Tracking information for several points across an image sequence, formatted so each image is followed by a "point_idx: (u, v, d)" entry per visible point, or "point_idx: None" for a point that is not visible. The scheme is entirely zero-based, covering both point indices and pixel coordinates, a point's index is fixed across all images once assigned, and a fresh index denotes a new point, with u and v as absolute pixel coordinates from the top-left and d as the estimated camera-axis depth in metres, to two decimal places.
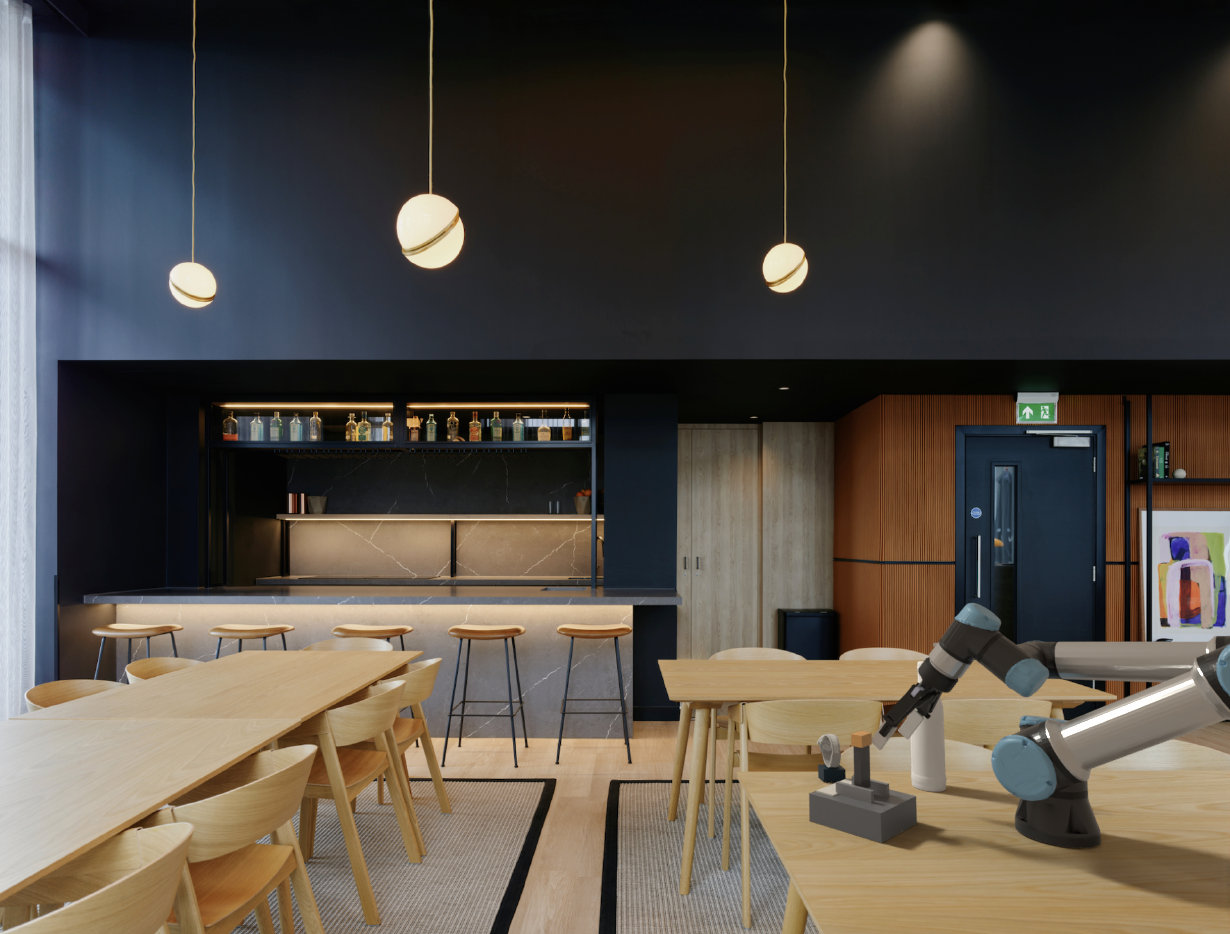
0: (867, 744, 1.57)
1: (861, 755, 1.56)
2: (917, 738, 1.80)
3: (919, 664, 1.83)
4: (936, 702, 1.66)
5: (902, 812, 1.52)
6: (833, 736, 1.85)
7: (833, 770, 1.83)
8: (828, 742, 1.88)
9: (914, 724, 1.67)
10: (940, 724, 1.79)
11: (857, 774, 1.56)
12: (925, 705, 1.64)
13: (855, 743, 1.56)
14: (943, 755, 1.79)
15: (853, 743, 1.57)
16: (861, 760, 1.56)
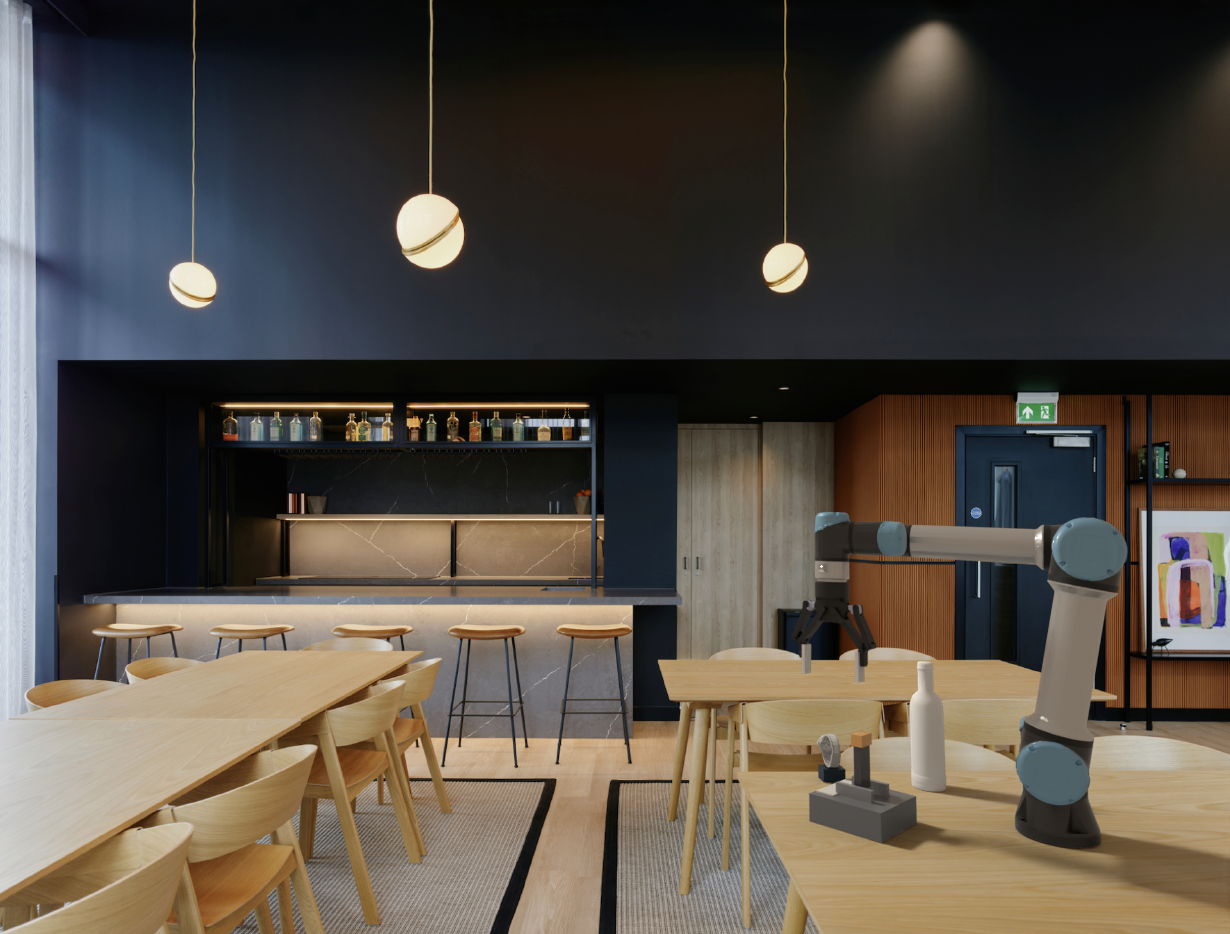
0: (867, 744, 1.57)
1: (861, 755, 1.56)
2: (917, 738, 1.80)
3: (919, 664, 1.83)
4: None
5: (902, 812, 1.52)
6: (833, 736, 1.85)
7: (833, 770, 1.83)
8: (828, 742, 1.88)
9: (809, 655, 1.70)
10: (940, 724, 1.79)
11: (857, 774, 1.56)
12: (816, 629, 1.69)
13: (855, 743, 1.56)
14: (943, 755, 1.79)
15: (853, 743, 1.57)
16: (861, 760, 1.56)
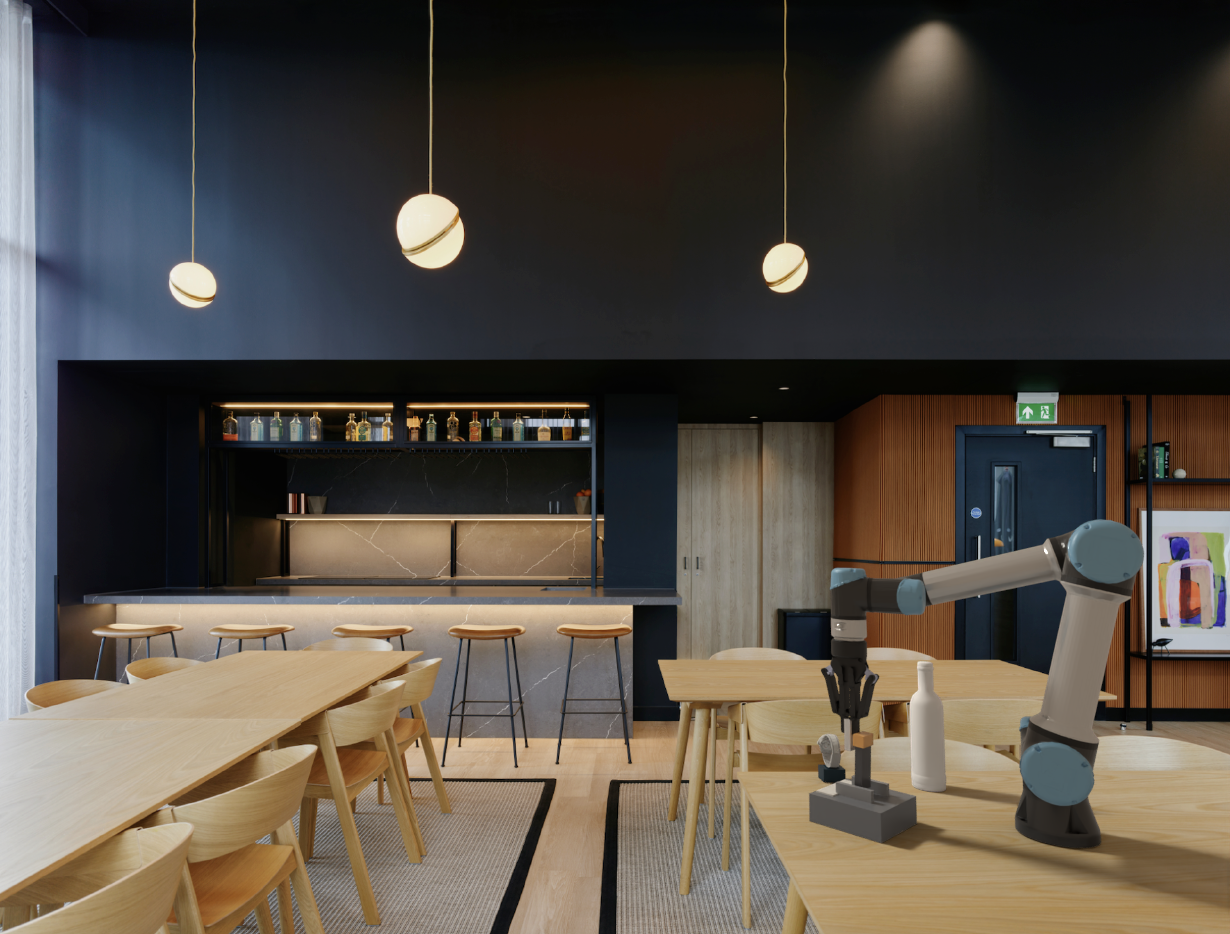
0: (869, 745, 1.57)
1: (863, 756, 1.56)
2: (917, 738, 1.80)
3: (919, 664, 1.83)
4: None
5: (902, 812, 1.52)
6: (833, 736, 1.85)
7: (833, 770, 1.83)
8: (828, 742, 1.88)
9: None
10: (940, 724, 1.79)
11: (857, 774, 1.56)
12: (848, 694, 1.62)
13: (857, 743, 1.56)
14: (943, 755, 1.79)
15: (855, 743, 1.56)
16: (862, 760, 1.55)
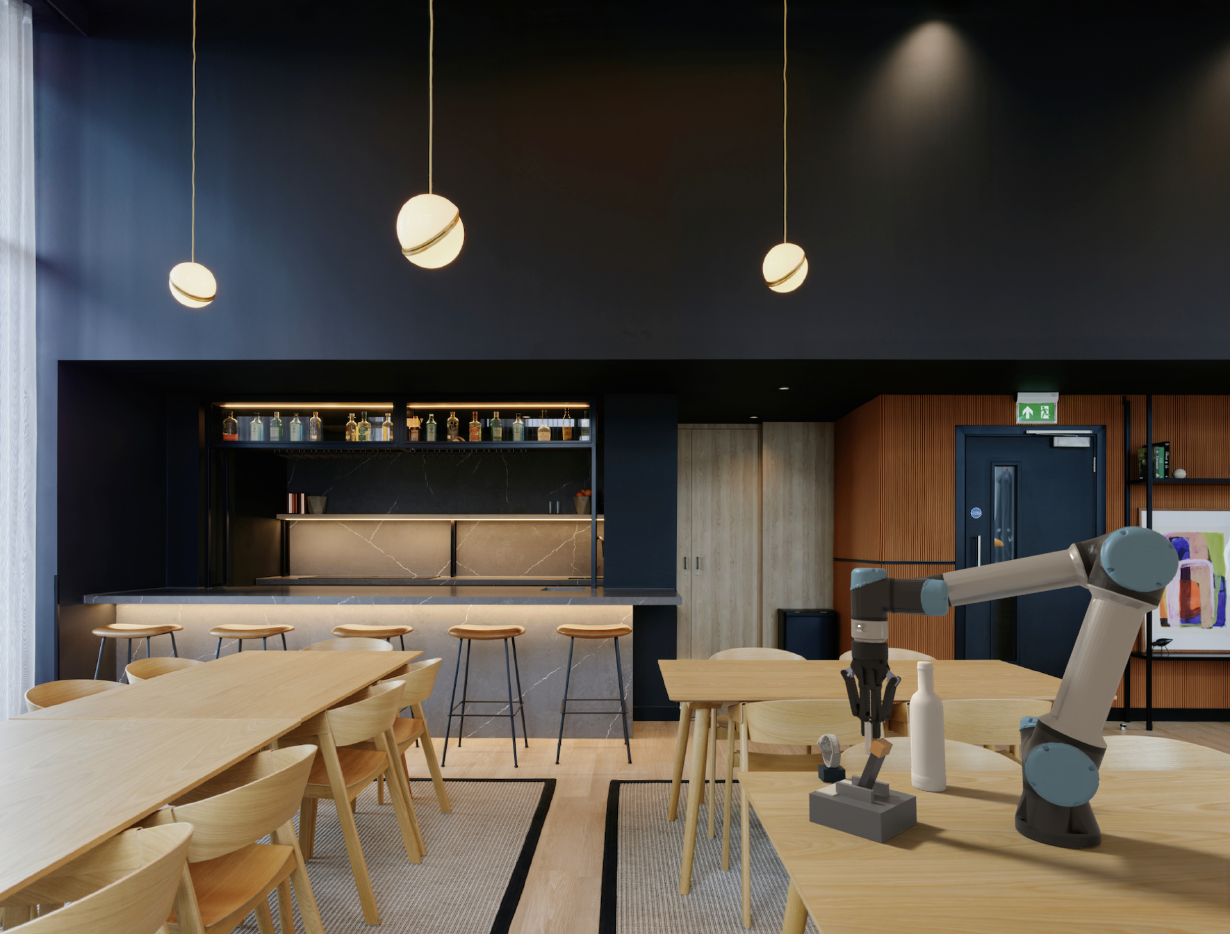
0: (885, 754, 1.54)
1: (875, 763, 1.54)
2: (917, 738, 1.80)
3: (919, 664, 1.83)
4: None
5: (902, 812, 1.52)
6: (833, 736, 1.85)
7: (833, 770, 1.83)
8: (828, 742, 1.88)
9: None
10: (940, 724, 1.79)
11: (864, 777, 1.55)
12: (868, 696, 1.58)
13: (874, 751, 1.53)
14: (943, 755, 1.79)
15: (872, 750, 1.54)
16: (873, 767, 1.53)
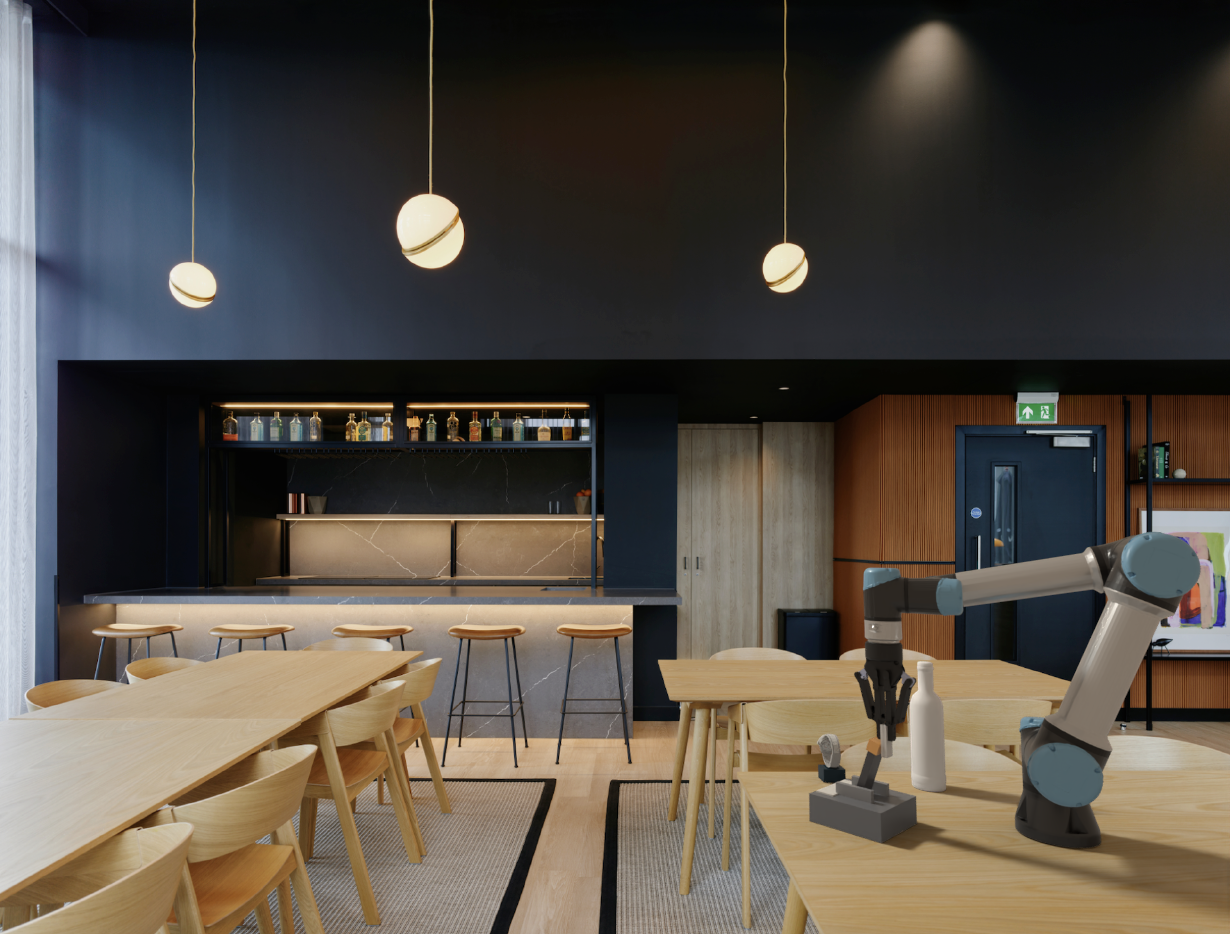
0: None
1: (873, 762, 1.54)
2: (917, 738, 1.80)
3: (919, 664, 1.83)
4: None
5: (902, 812, 1.52)
6: (833, 736, 1.85)
7: (833, 770, 1.83)
8: (828, 742, 1.88)
9: None
10: (940, 724, 1.79)
11: (863, 777, 1.55)
12: (883, 698, 1.56)
13: (870, 749, 1.54)
14: (943, 755, 1.79)
15: (868, 748, 1.54)
16: (871, 766, 1.54)
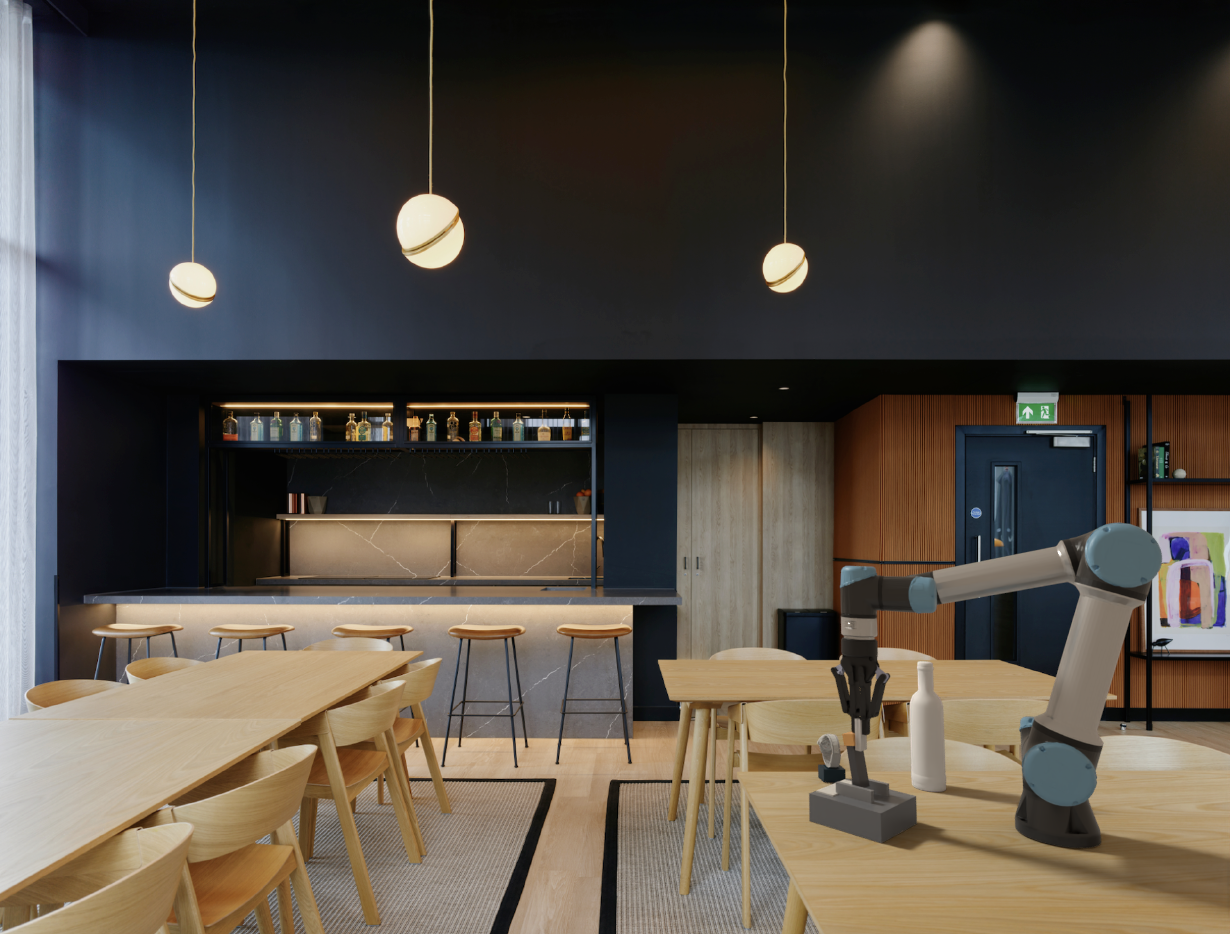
0: None
1: (855, 754, 1.57)
2: (917, 738, 1.80)
3: (919, 664, 1.83)
4: None
5: (902, 812, 1.52)
6: (833, 736, 1.85)
7: (833, 770, 1.83)
8: (828, 742, 1.88)
9: None
10: (940, 724, 1.79)
11: (854, 774, 1.56)
12: (858, 693, 1.60)
13: (847, 742, 1.58)
14: (943, 755, 1.79)
15: (845, 743, 1.58)
16: (855, 759, 1.56)
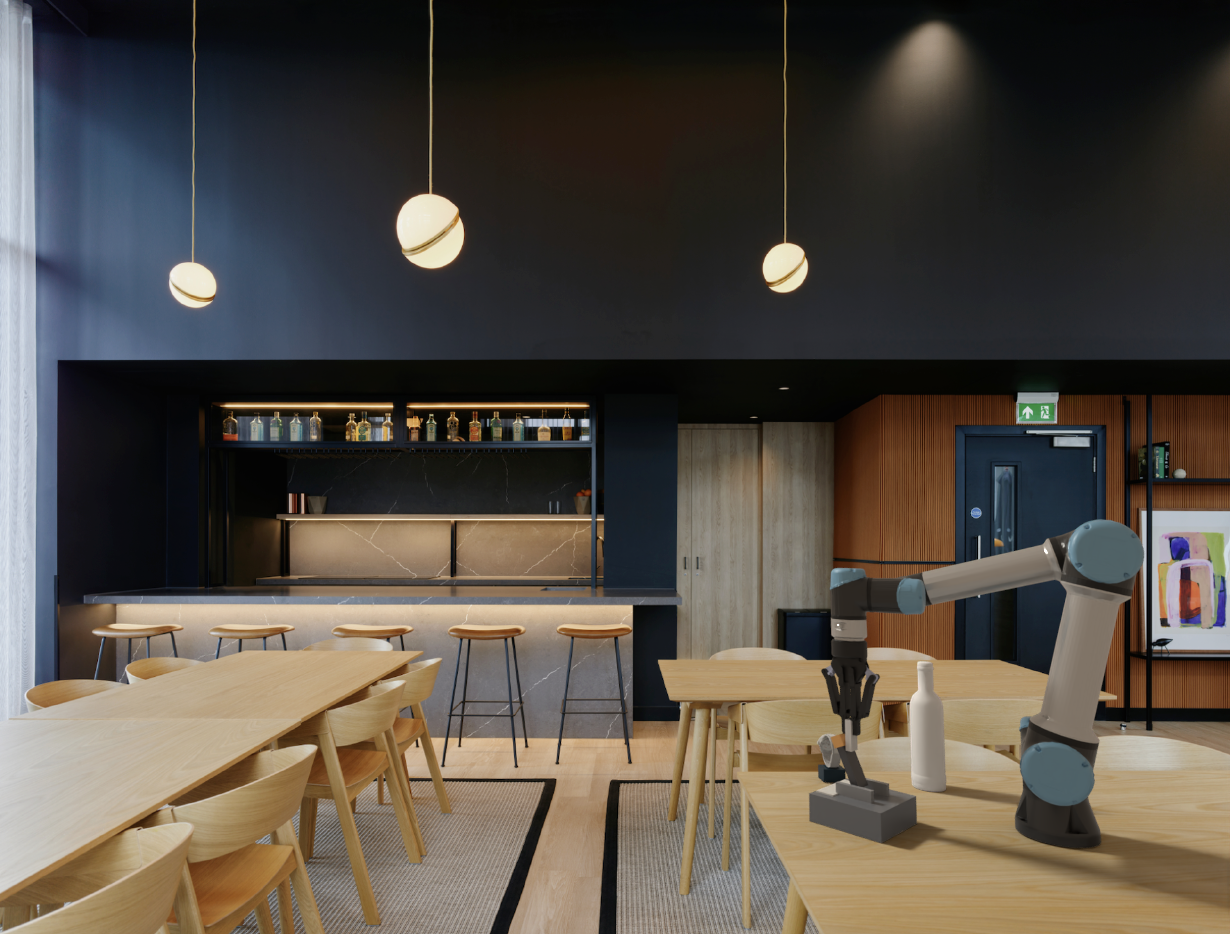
0: None
1: (847, 754, 1.58)
2: (917, 738, 1.80)
3: (919, 664, 1.83)
4: None
5: (902, 812, 1.52)
6: None
7: (833, 770, 1.83)
8: (828, 742, 1.88)
9: None
10: (940, 724, 1.79)
11: (850, 774, 1.57)
12: (848, 694, 1.61)
13: (837, 744, 1.59)
14: (943, 755, 1.79)
15: (835, 745, 1.60)
16: (848, 759, 1.58)
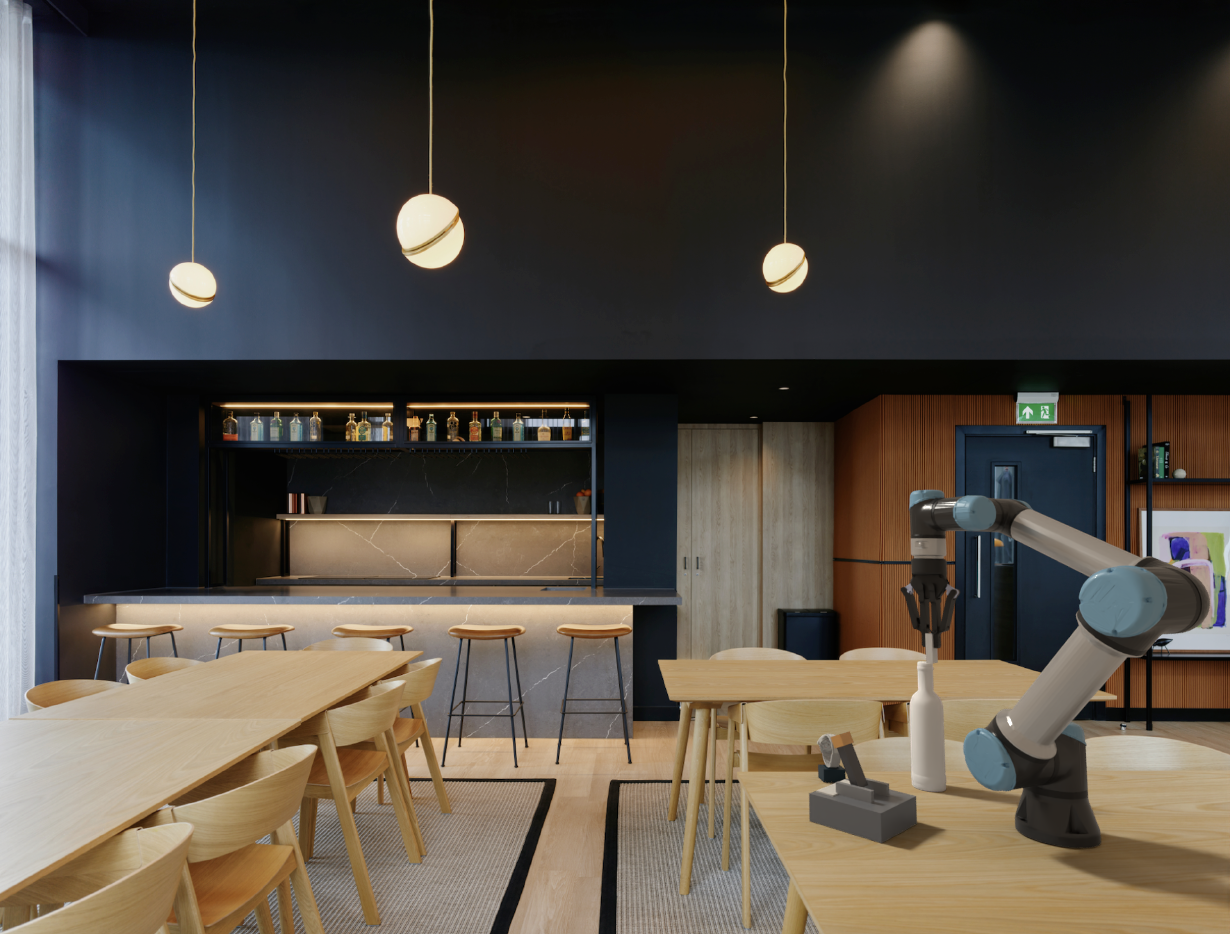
0: (849, 742, 1.60)
1: (847, 754, 1.58)
2: (917, 738, 1.80)
3: (919, 664, 1.83)
4: None
5: (902, 812, 1.52)
6: None
7: (833, 770, 1.83)
8: (828, 742, 1.88)
9: None
10: (940, 724, 1.79)
11: (850, 774, 1.57)
12: (928, 610, 1.69)
13: (837, 744, 1.59)
14: (943, 755, 1.79)
15: (835, 745, 1.60)
16: (848, 759, 1.58)
